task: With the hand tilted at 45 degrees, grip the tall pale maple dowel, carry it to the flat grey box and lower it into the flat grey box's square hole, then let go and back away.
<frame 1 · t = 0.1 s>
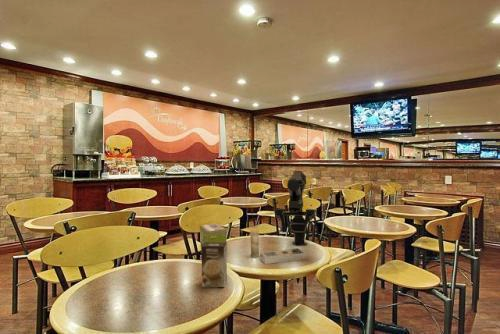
hand: (294, 230, 137), 15 cm above the table, tool tilted 35°, fingers open, 9 cm apart
coffee box: (214, 285, 115), on the table
tea box: (213, 255, 152), on the table
flat grey box: (282, 258, 143), on the table
peg: (255, 256, 147), on the table
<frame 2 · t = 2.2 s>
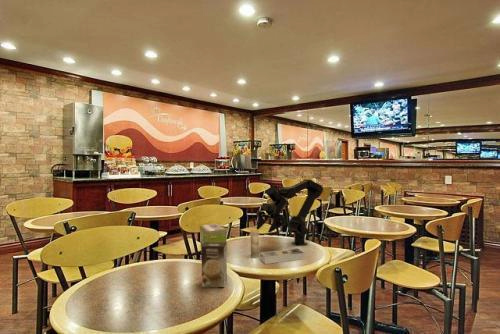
hand: (262, 230, 151), 12 cm above the table, tool tilted 45°, fingers open, 9 cm apart
nothing on the table moved.
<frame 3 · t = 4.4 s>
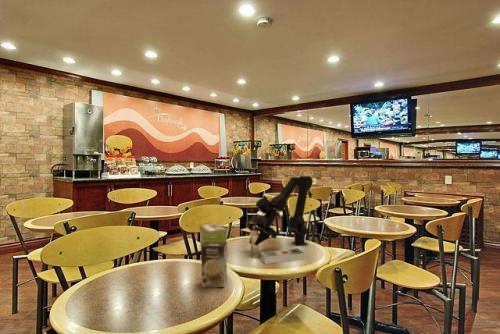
hand: (252, 244, 146), 7 cm above the table, tool tilted 45°, fingers closed on peg, 4 cm apart
peg: (255, 256, 147), on the table, touching gripper
everything else where it was.
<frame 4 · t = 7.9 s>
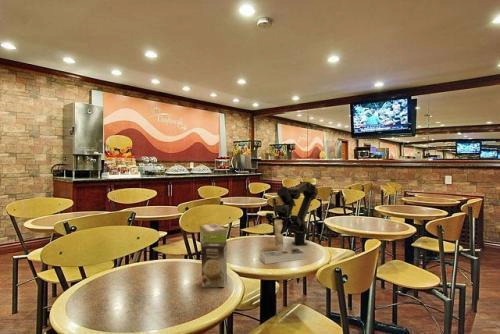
hand: (277, 233, 147), 12 cm above the table, tool tilted 45°, fingers closed on peg, 4 cm apart
peg: (279, 245, 148), point 5 cm above the table, touching gripper
everything else where it was.
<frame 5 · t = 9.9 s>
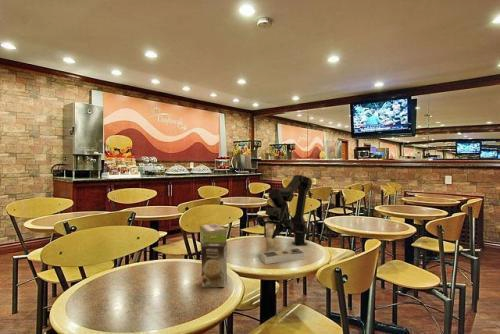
hand: (268, 237, 140), 11 cm above the table, tool tilted 45°, fingers closed on peg, 4 cm apart
peg: (270, 250, 141), point 5 cm above the table, touching gripper
everything else where it was.
when the fingers open (8 cm above the table, at t = 11.6 s): peg drops 1 cm, resting in flat grey box.
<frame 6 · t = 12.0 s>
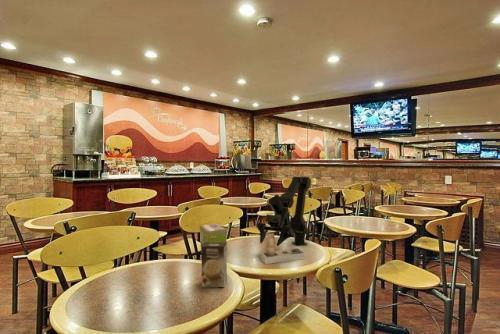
hand: (268, 244, 140), 8 cm above the table, tool tilted 45°, fingers open, 9 cm apart
peg: (270, 260, 141), resting in flat grey box
everything else where it was.
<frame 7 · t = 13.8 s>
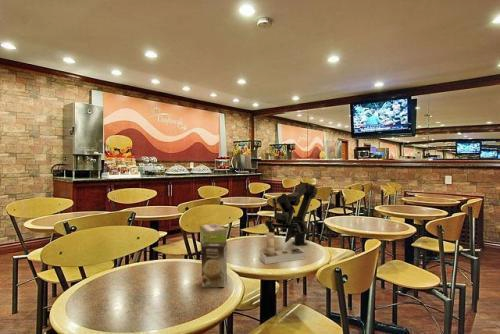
hand: (277, 240, 147), 8 cm above the table, tool tilted 45°, fingers open, 9 cm apart
nothing on the table moved.
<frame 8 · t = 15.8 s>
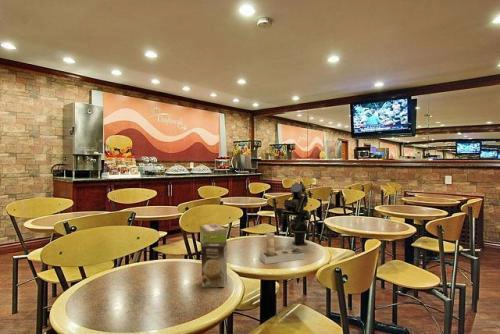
hand: (287, 227, 151), 14 cm above the table, tool tilted 45°, fingers open, 9 cm apart
nothing on the table moved.
at the end: peg 0.0 cm from the target spot on the flat grey box, point 0.0 cm above the flat grey box's base; peg tilted 0°; the gripper is holding nothing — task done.
